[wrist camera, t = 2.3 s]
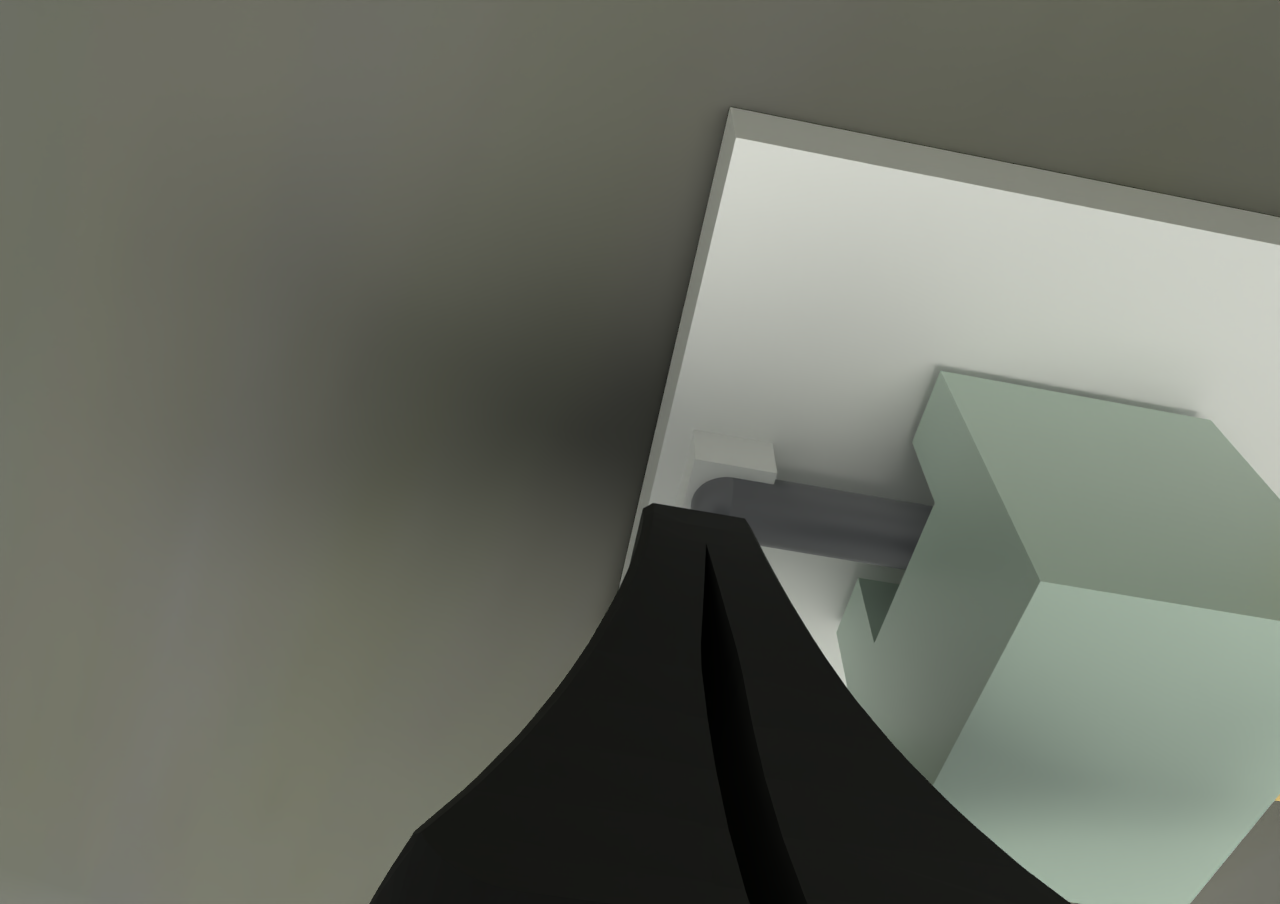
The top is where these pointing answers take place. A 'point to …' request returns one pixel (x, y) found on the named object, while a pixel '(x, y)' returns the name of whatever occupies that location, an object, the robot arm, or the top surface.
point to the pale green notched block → (1083, 638)
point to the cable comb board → (932, 333)
